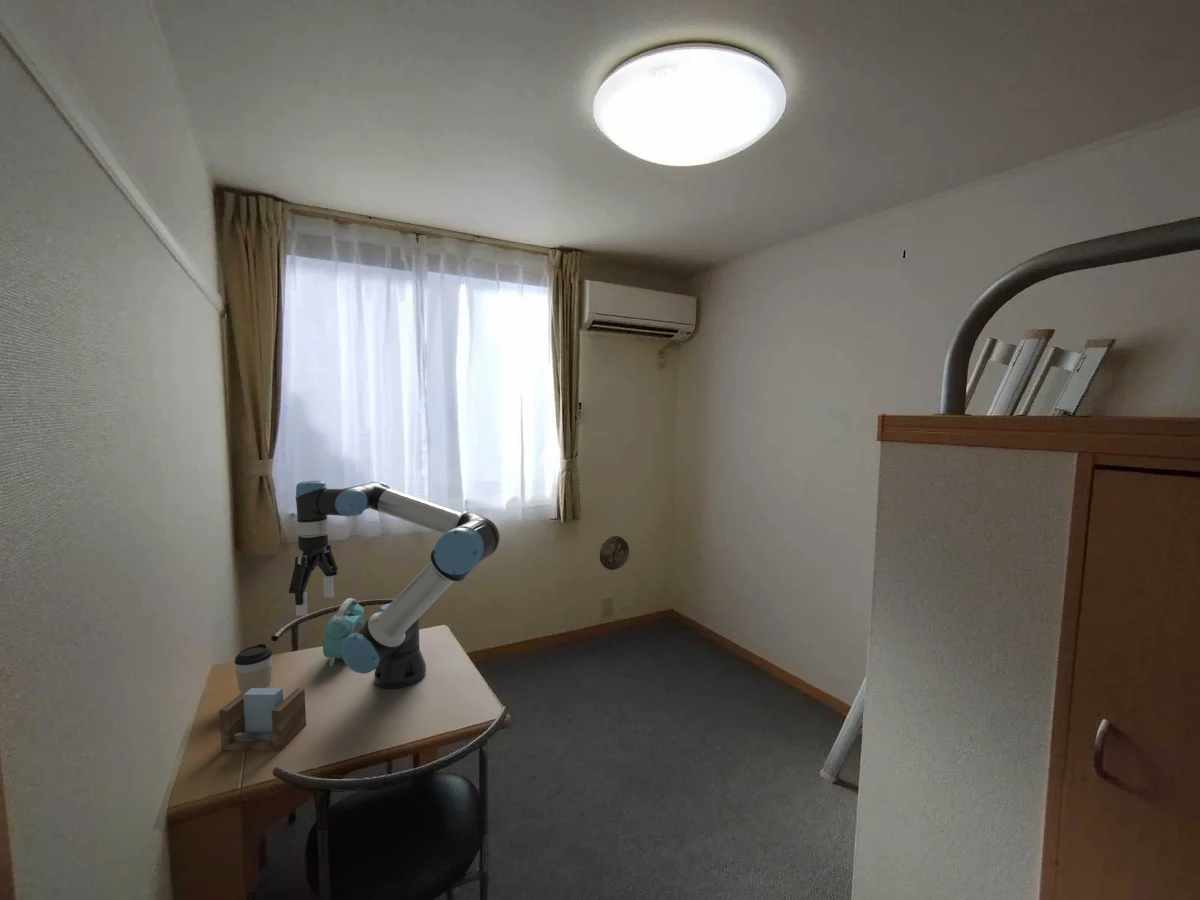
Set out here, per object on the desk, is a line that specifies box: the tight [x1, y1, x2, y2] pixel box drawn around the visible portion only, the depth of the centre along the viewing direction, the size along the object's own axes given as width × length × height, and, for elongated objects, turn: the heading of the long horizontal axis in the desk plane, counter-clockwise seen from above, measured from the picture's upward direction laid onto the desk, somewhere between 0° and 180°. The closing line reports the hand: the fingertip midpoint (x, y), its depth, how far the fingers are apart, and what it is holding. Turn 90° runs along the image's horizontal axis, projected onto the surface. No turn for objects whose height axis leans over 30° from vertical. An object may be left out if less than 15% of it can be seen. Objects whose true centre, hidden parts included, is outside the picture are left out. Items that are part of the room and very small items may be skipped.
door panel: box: [243, 687, 284, 733], centre depth 127 cm, size 8×3×11 cm, turn 90°
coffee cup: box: [233, 643, 274, 695], centre depth 144 cm, size 9×9×15 cm
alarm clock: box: [322, 597, 365, 667], centre depth 168 cm, size 17×10×20 cm, turn 5°
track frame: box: [218, 687, 307, 751], centre depth 127 cm, size 15×10×10 cm, turn 89°
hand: (316, 605), depth 145 cm, fingers open, 13 cm apart
